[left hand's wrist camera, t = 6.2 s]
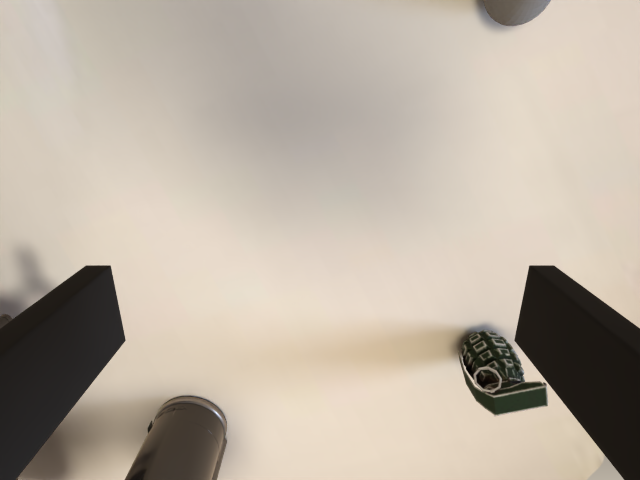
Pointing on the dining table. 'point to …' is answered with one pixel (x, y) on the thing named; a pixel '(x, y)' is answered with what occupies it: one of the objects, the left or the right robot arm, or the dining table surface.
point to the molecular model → (514, 10)
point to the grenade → (499, 375)
